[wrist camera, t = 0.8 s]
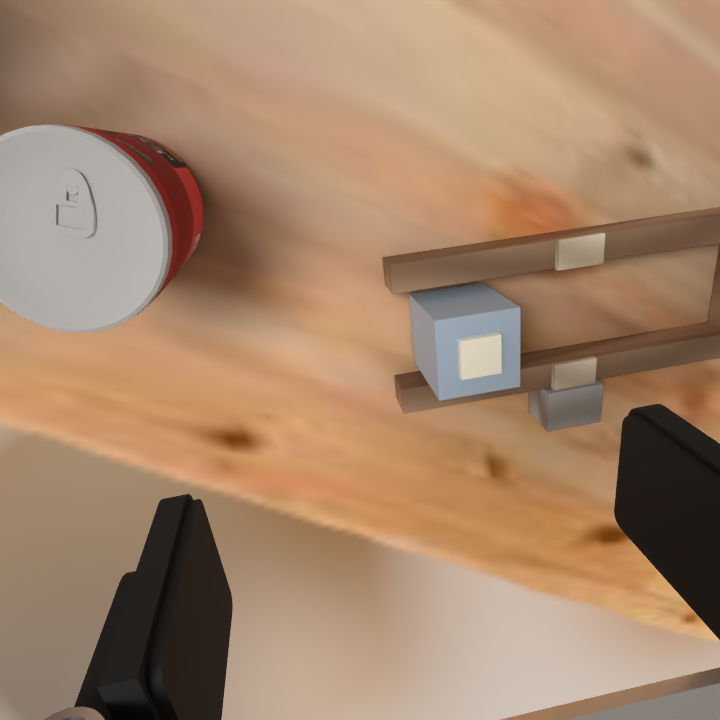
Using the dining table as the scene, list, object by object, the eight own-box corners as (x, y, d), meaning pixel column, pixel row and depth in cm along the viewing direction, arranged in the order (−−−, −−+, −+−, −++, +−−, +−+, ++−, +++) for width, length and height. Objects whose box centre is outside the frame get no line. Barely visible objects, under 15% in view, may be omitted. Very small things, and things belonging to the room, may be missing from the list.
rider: (409, 293, 34) (436, 323, 28) (481, 282, 34) (523, 309, 28) (414, 362, 36) (441, 403, 30) (483, 351, 36) (523, 389, 30)
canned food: (194, 131, 29) (148, 118, 19) (215, 272, 32) (185, 327, 22) (50, 136, 28) (-82, 126, 18) (86, 281, 31) (-9, 343, 21)
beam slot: (382, 256, 33) (391, 266, 30) (749, 202, 35) (789, 206, 32) (400, 435, 38) (409, 456, 35) (719, 377, 40) (752, 393, 37)
